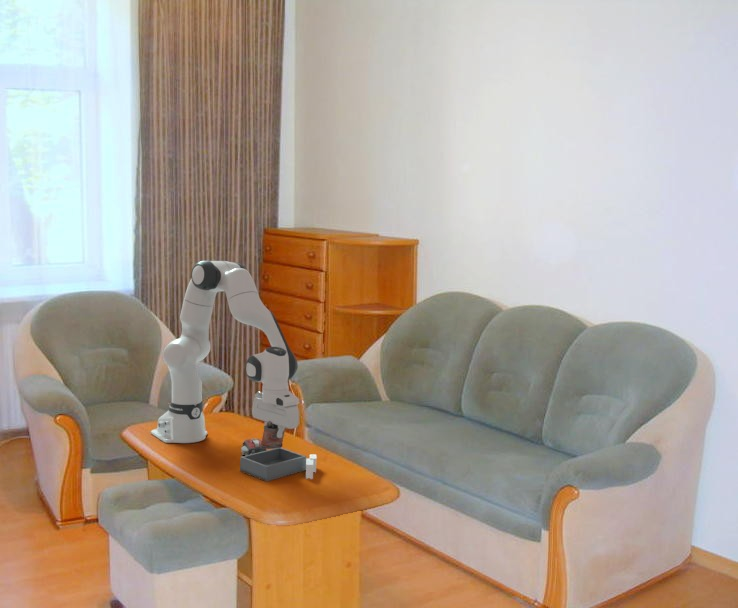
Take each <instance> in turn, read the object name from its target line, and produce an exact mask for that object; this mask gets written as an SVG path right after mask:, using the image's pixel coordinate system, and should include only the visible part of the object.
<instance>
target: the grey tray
mask: <svg viewBox="0 0 738 608" xmlns="http://www.w3.org/2000/svg"><path fill="white" fill-rule="evenodd" d="M306 458H307V456H306V455H303V454H301V453H298V452H295V451H292V450H289V449H287V448H283V447H281V448H275V449H267V451H262V452H258V453H254V454H250V455H246V456H240V457H239V460H240V461H239V472H240V471H242V472H241V473H243V472H245V473H244V474H246V473H247V474H246V475H248V474H250V475H249V476H251V475H252V476H251V477H253V476H254V477H253V478H256V477H257V478H256V479H258V478H260V479H259V480H261V479H262V480H261V481H263V480H264V481H265V482H271V481H273V479H274V480H276V479H277V480H278V479H280V477H281V478H284V477H288V476H291V475H294V474H293V473H295V474H298V473H297V472H299V473H302V472H305V471H304V470H306ZM301 471H302V472H301ZM290 474H291V475H290ZM287 475H288V476H287ZM264 481H263V482H264Z"/></svg>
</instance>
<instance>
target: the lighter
mask: <svg viewBox="0 0 738 608" xmlns="http://www.w3.org/2000/svg"><path fill="white" fill-rule="evenodd" d="M278 430H279V428H278V425H275V424H272V422H271V421H268V425H266V426H265V425H264V426H263V433H262V437H261V438H262V439H261V441H262V442H261V445H260V447H261V448H263V449H267V450H271V449H275V448H283V445H284V443H283V442H284V437H285V432H286V430H287V428H285V429H284V431H283V432H282V438H277V437H276V432H278Z"/></svg>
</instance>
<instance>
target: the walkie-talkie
mask: <svg viewBox="0 0 738 608" xmlns="http://www.w3.org/2000/svg"><path fill="white" fill-rule="evenodd" d="M261 442H262V439H259V438H251V439H245V440H244V441H243V442H242V447H241V448H240V453H241V452H242V453H241V455H245V456H246V455H250V454H254V453H258V452H262V451H267V450H268V449H263V448H261V447H260V445H261Z"/></svg>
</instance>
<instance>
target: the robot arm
mask: <svg viewBox="0 0 738 608" xmlns="http://www.w3.org/2000/svg"><path fill="white" fill-rule="evenodd" d="M190 274H191V275H190V277H191V278H190V280H189V283H188V284H187V288H186V291H185V294H184V298H183V301H182V307H181V311H180V316H179V321H180V323H181V333H180V334H181V335H180V337H179V338H176V339H173V340H172V341H169V343H168V344H167V345H166V346H165V347H164V349H163V351H162V359H163V362H164V363H165V365H166V366H167V368H168V371H169V375H170V380H171V401H167V406H168V410H167V411H166V412H164V414H162V415H161V416H159V418H158V419H157V428H154V429H152V430H150V434H151V435H153V436H154V437H156V438H157V439H158V440H160V441H162V442H163V443H166V444H168V443H169V444H171V443H175V444H176V443H177V444H191V443H198V442H201V441H204V440H205V439H206V436H207V435H208V430H206V423H205V421H206V420H205V414H204V412H203V410H204V404H203V403H204V402H203V398H202V395H203V391H202V390H203V381H202V379H201V378H200V376H199V373H198V368H197V364H198V363H199V362H202V361H203V360H204V359H205V358H206V357H207V356H208V355H209V354H210V351H211V347H212V345H211V341H210V336H209V335H210V325H211V324H210V323H211V319H212V315H213V310H214V306H215V301H216V296H217V294H218V293H219V292H224V293H225V296H226V300H227V303H228V308H229V311H230V313H231V315H232V317H233V318H234V320H236V321H237V322H240V323H242V324H245V325H248V326H251V327H254V328H257V329H259V330H260V331H262V332H263V333H264V334H265V335H266V337H267V339H268V341H269V342H268V343H269V344H270V346H269V347H266V348H265V349H264V351H262V352H260V353H255V354H252V355H250V356H249V357H248V358H247V359H246V362H245V365H244V366H245V367H244V370H245V375H246V376H247V378H248V379H249V380H250V381H251V382H255V383H262V388H261V389H262V391H257V392H256V393H255V394H254V398H253V402H252V410H251V414H252V417H253V419H257V420H259V421H263V422H264V426H266V425H268V421H271V422H272V424H275V425H278V428H279V430H278V432H276V437H277V438H282V432H283V431H284V429H285V428H286V429H289V430H292V429H296V428H298V427H299V424H300V408H299V406H298V405H299V404H300V399H299V397H298V396H296V395H295V394H294V393H293V392H292V391H291V390H290V389H289V380H291V379H292V378H293V377H295V374H296V372H297V371H298V367H299V366H298V360H297V357H296V356H295V354H294V353H293V352H292V350H291V349H290V346H289V344H288V342H287V340H286V337H285V336H284V333H283V332H282V329H281V327H280V325H279V322H278V321H277V319H276V317H275V315H274V313H273V312H272V311H271V310H270V309H268V308H267V306H265V304H264V303H263V301H262V300H261V298H260V295H259V291H258V288H257V285H256V283H255V281H254V279H253V277H252V275H251V273H250V272H249V271H248V269H247V267H246V266H245V265H243V263H239V262H231V261H227V260H208V259H207V260H206V259H205V260H201V261H197V262H196V263H195V264H194V265H193V267H192V270H191V273H190ZM286 429H285V430H286Z"/></svg>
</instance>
